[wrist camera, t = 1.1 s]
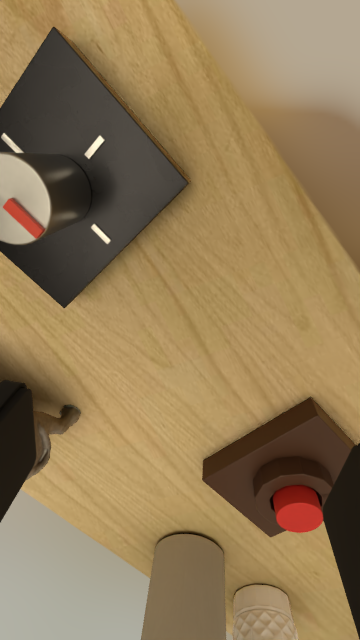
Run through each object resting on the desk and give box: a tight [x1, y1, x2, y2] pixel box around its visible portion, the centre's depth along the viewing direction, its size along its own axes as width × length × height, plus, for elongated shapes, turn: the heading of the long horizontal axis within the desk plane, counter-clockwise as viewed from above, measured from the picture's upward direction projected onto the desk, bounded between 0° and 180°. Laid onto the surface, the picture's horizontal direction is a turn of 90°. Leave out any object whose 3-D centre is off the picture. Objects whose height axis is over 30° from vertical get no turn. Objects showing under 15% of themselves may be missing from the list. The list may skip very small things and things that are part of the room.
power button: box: [273, 485, 323, 533], centre depth 27 cm, size 4×4×2 cm
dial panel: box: [0, 27, 191, 308], centre depth 21 cm, size 12×10×3 cm
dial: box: [0, 152, 91, 245], centre depth 17 cm, size 4×4×6 cm
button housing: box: [202, 398, 355, 537], centre depth 29 cm, size 12×10×4 cm
